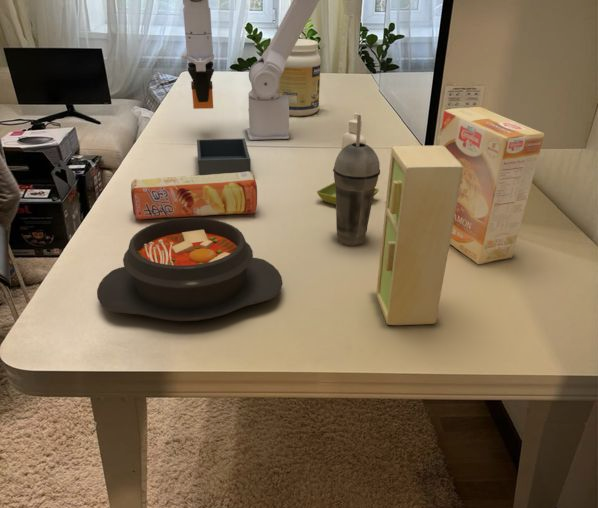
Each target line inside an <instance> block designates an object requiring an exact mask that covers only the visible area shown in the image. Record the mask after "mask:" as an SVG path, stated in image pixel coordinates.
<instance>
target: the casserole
mask: <svg viewBox="0 0 598 508" xmlns="http://www.w3.org/2000/svg"><path fill="white" fill-rule="evenodd" d="M122 262H123V266H121V267H117V268H115V269H113V270H111V271H110V272H109V273H108V274H106V275H105V276H104V277H103V278H102V279H101V281H100V282H99V283H98V287H97V289H96V296H97V300H98V302H99V304H100V305H101V306H102V307H103V308H104V309H105V310H107V311H109V312H112V313H119V314H129V315H130V314H131V315H140V316H146V317H149V318H155V319H159V320H166V321H175V322H176V321H177V322H192V321H195V322H196V321H202V320H210V319H213V318H218V317H222V316H224V315H227V314H231V313H233V312H235V311H237V310H239V309H240V310H241V309H242V308H245V307H247V306H252V305H257V304H260V303H261V304H262V303H263V302H267V301H270V300H271V299H273V298H275V297H277V296H278V295H279V293H280V292H281V290H282V287H283V277H282V275H281V273H280V271H279V269H277V268H276V267H275V266H274V265H273V264H271V263H270V262H268V261H267V260H266V259H264V258H263V259H262V258H259V257H254V252H253V249H252V247H251V245H250V244H249V243H248V242H247V241H246V238H245V236H244V235H243V233H242V231H240V230H239V229H238V228H237V227H235V226H234V225H232V224H230V223H227V222H226V221H225V222H224V221H221V220H217V219H212V218H203V217H202V218H201V217H180V218H174V219H168V220H162V221H160V222H156V223H153V224H151V225H148V226H146V227H144V228H142V229H140V230H139V231H138V232H136V233H134V234H133V236H132V237H131V238H130V240H129V244H128V248H127V250H126V251H125V253H124V255H123V259H122Z"/></svg>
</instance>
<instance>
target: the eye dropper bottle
mask: <svg viewBox="0 0 598 508" xmlns="http://www.w3.org/2000/svg"><path fill="white" fill-rule="evenodd" d="M358 115H359V113H357V112H354V113H353V116H352V119H350V120H348V131H345V132H344V133H343V135H342V140H341V150H342V149H343V148H344V147H346V146H347V145H349V144H352V143H356V136H357V118H358ZM361 124H362V120H361ZM360 143H363V144H366V145H367V142H366V138H365V136H364V135H363V133H362V125H361V126H360Z"/></svg>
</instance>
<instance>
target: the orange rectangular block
mask: <svg viewBox="0 0 598 508" xmlns="http://www.w3.org/2000/svg"><path fill="white" fill-rule="evenodd" d="M190 84H191V85H190V87H191V95H192V104H193V105H192V106H193V107H192V108H193V109H194V110H199V109H200V110H201V109H202V110H203V109H206V110H207V109H209V110H210V109H214V96H213V89H214V87H213V81H212V80H211V81H210V87H209V98H208V102H199V101H198V98H197V95H196V90H195V86H194V83H193V80H191V81H190Z"/></svg>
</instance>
